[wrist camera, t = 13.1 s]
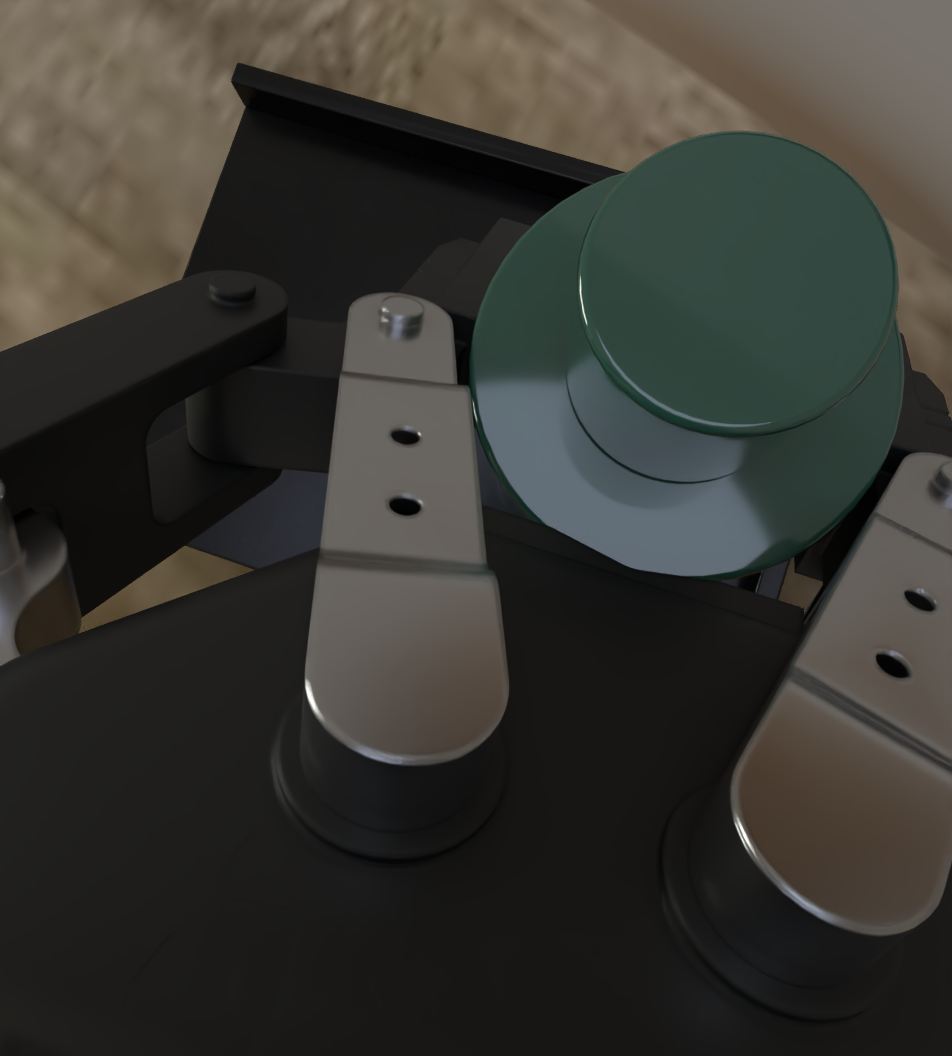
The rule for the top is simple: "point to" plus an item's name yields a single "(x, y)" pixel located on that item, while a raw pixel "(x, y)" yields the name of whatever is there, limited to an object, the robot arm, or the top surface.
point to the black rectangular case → (356, 245)
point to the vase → (694, 358)
